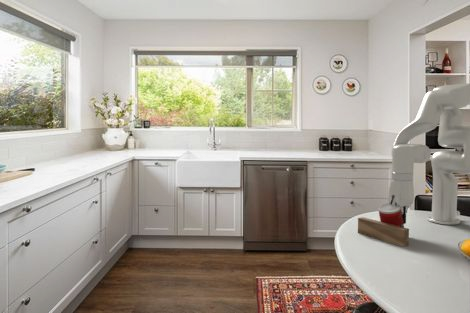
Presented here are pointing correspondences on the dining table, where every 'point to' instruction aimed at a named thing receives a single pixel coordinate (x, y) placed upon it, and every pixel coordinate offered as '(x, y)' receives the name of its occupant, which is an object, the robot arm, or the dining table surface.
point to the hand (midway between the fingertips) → (400, 223)
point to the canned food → (391, 214)
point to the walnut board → (383, 231)
